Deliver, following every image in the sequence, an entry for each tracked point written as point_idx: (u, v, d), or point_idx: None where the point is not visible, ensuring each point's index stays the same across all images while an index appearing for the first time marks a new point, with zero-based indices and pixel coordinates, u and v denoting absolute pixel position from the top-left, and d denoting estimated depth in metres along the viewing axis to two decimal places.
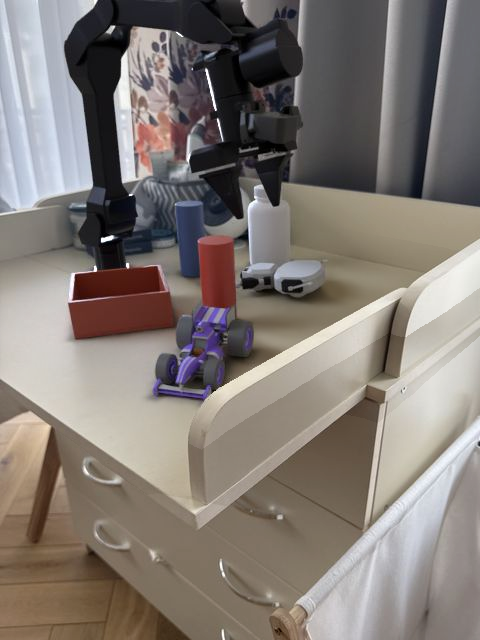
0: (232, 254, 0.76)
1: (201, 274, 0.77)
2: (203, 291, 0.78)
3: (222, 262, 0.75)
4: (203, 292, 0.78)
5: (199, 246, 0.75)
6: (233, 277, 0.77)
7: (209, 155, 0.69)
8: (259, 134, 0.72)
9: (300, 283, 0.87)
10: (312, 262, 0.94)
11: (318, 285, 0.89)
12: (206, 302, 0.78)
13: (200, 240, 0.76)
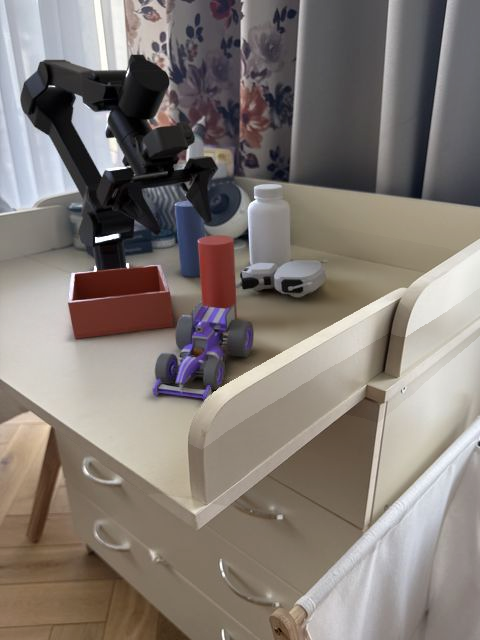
0: (232, 254, 0.76)
1: (201, 274, 0.77)
2: (203, 291, 0.78)
3: (222, 262, 0.75)
4: (203, 292, 0.78)
5: (199, 246, 0.75)
6: (233, 277, 0.77)
7: (103, 181, 0.75)
8: (150, 152, 0.77)
9: (300, 283, 0.87)
10: (312, 262, 0.94)
11: (318, 285, 0.89)
12: (206, 302, 0.78)
13: (200, 240, 0.76)
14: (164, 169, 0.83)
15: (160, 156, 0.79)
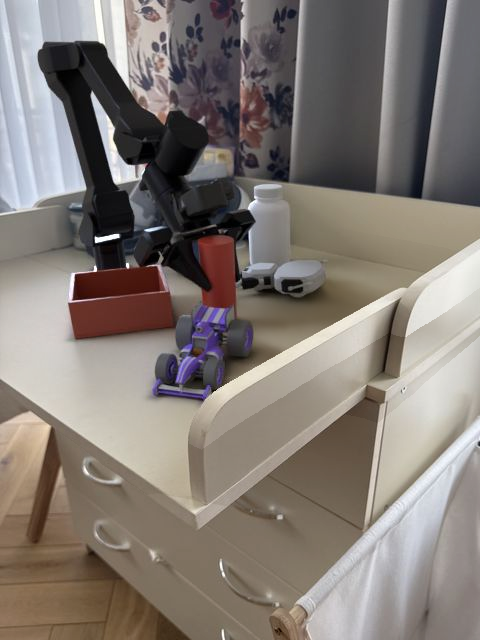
0: (232, 254, 0.76)
1: None
2: (203, 291, 0.78)
3: (222, 262, 0.75)
4: (203, 292, 0.78)
5: (199, 246, 0.75)
6: (233, 277, 0.77)
7: (141, 242, 0.73)
8: (189, 210, 0.74)
9: (300, 283, 0.87)
10: (312, 262, 0.94)
11: (318, 285, 0.89)
12: (207, 302, 0.78)
13: (200, 240, 0.76)
14: (201, 224, 0.80)
15: (198, 213, 0.76)
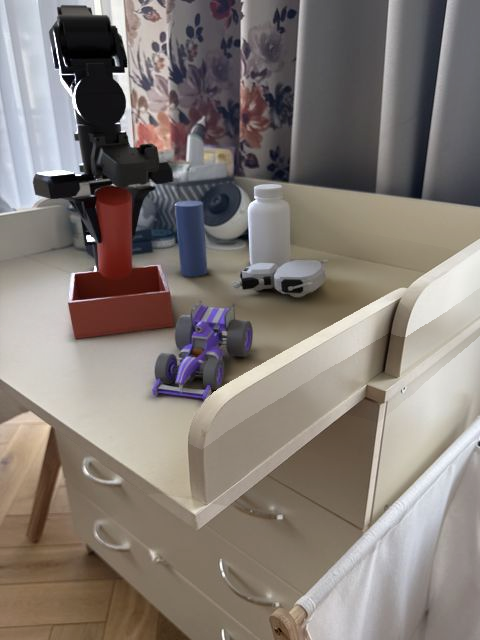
0: (129, 212, 0.76)
1: None
2: None
3: (120, 221, 0.75)
4: (99, 243, 0.79)
5: (96, 202, 0.74)
6: (130, 232, 0.78)
7: (44, 185, 0.69)
8: (105, 171, 0.71)
9: (300, 283, 0.87)
10: (312, 262, 0.94)
11: (318, 285, 0.89)
12: (102, 253, 0.79)
13: (97, 195, 0.74)
14: None
15: None
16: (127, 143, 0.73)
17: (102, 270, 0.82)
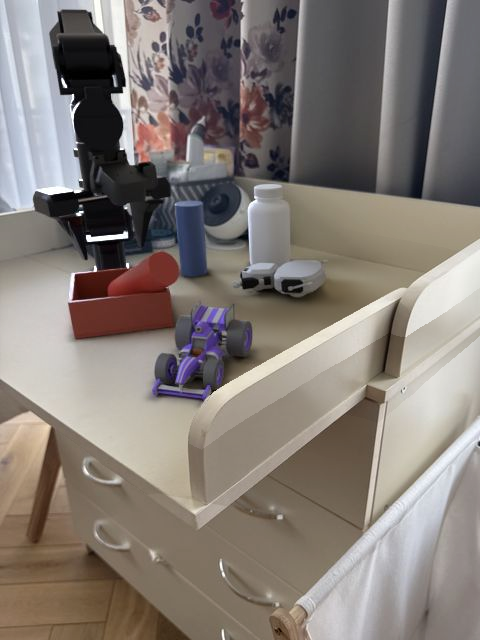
0: (164, 288, 0.78)
1: (133, 271, 0.79)
2: (124, 278, 0.80)
3: (151, 288, 0.78)
4: (124, 278, 0.81)
5: (146, 262, 0.76)
6: None
7: (44, 203, 0.70)
8: (103, 189, 0.72)
9: (300, 283, 0.87)
10: (312, 262, 0.94)
11: (318, 285, 0.89)
12: (120, 285, 0.81)
13: (152, 257, 0.76)
14: None
15: None
16: (126, 160, 0.74)
17: (110, 290, 0.84)
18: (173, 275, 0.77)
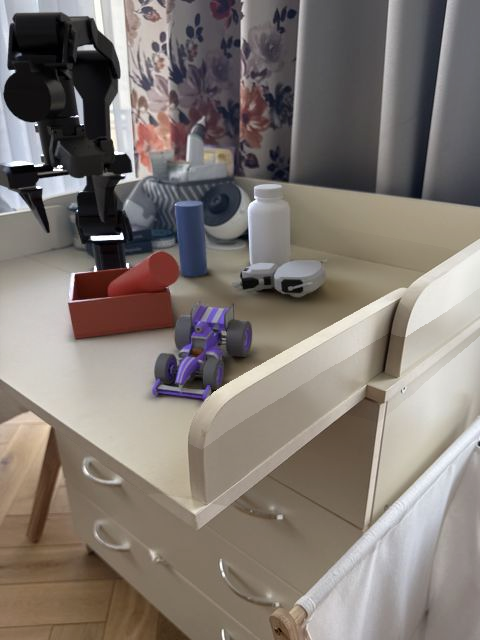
0: (164, 288, 0.78)
1: (133, 271, 0.79)
2: (124, 278, 0.80)
3: (151, 288, 0.78)
4: (124, 278, 0.81)
5: (146, 262, 0.76)
6: None
7: (4, 175, 0.73)
8: (62, 162, 0.74)
9: (300, 283, 0.87)
10: (312, 262, 0.94)
11: (318, 285, 0.89)
12: (120, 285, 0.81)
13: (152, 257, 0.76)
14: None
15: None
16: (85, 135, 0.77)
17: (110, 290, 0.84)
18: (173, 275, 0.77)
